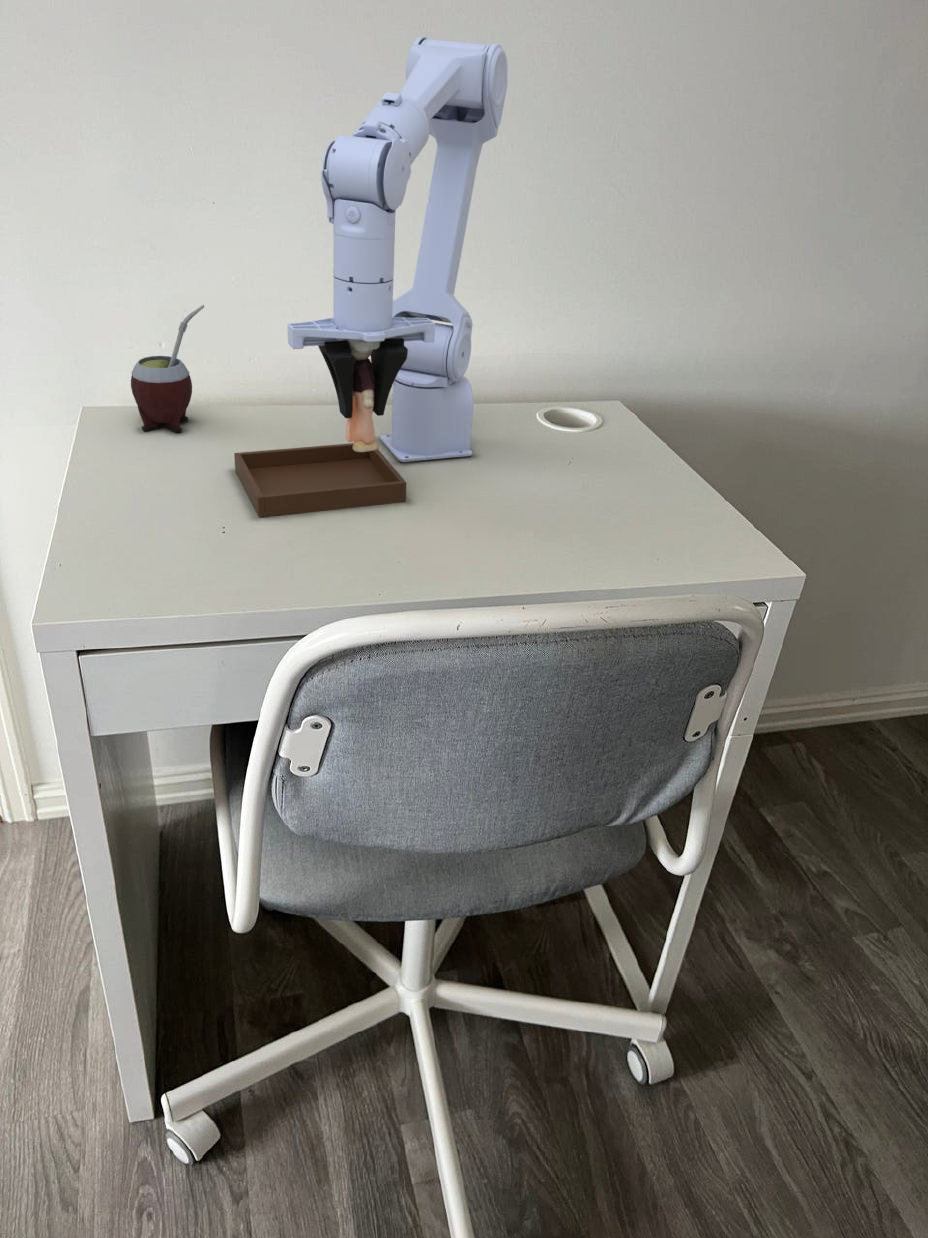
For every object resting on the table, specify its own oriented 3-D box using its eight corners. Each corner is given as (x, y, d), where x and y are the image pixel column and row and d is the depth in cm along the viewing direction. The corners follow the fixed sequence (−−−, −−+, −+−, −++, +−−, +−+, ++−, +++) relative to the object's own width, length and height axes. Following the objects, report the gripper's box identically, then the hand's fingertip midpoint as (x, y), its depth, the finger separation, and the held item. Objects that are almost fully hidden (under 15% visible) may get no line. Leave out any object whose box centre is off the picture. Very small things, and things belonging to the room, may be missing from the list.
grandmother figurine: (336, 434, 104) (329, 315, 97) (371, 429, 105) (366, 311, 98) (356, 462, 98) (351, 337, 91) (393, 457, 99) (390, 333, 92)
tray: (371, 459, 116) (371, 441, 115) (405, 501, 107) (406, 482, 106) (235, 471, 110) (234, 452, 109) (258, 517, 101) (258, 497, 100)
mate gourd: (124, 423, 120) (110, 299, 112) (179, 410, 125) (169, 291, 117) (158, 441, 116) (146, 314, 108) (214, 427, 121) (206, 304, 113)
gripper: (299, 289, 87) (302, 433, 94) (449, 284, 92) (441, 421, 99) (280, 270, 92) (284, 408, 99) (423, 267, 98) (417, 398, 105)
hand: (361, 413), depth 100 cm, fingers closed on grandmother figurine, 3 cm apart
